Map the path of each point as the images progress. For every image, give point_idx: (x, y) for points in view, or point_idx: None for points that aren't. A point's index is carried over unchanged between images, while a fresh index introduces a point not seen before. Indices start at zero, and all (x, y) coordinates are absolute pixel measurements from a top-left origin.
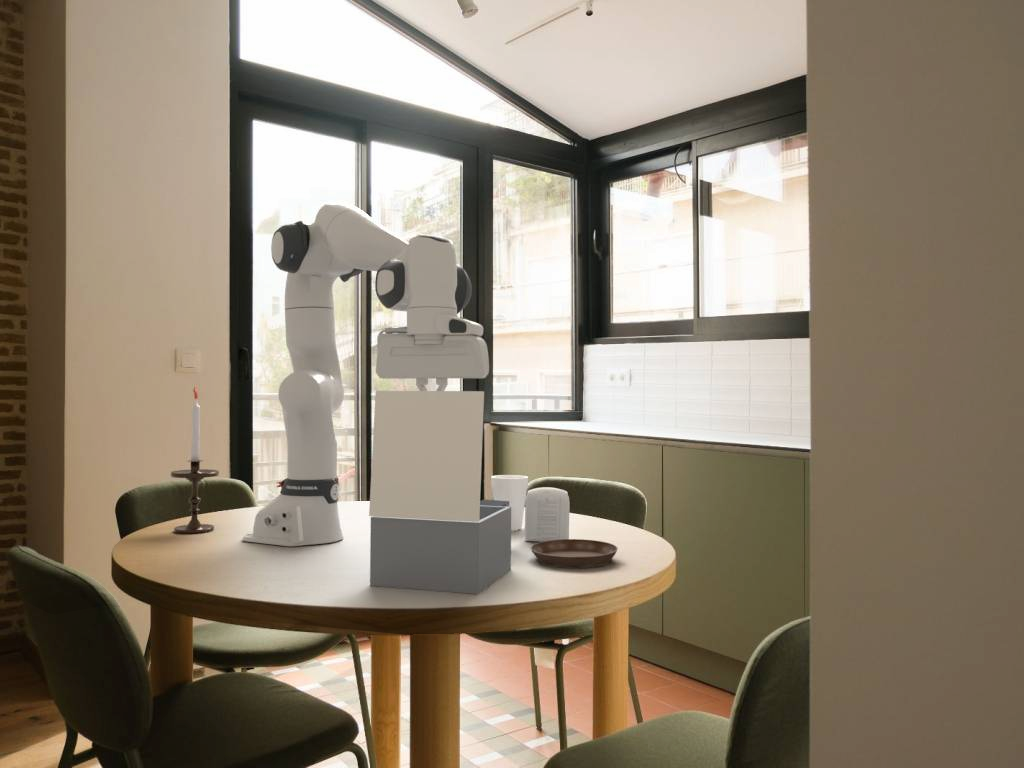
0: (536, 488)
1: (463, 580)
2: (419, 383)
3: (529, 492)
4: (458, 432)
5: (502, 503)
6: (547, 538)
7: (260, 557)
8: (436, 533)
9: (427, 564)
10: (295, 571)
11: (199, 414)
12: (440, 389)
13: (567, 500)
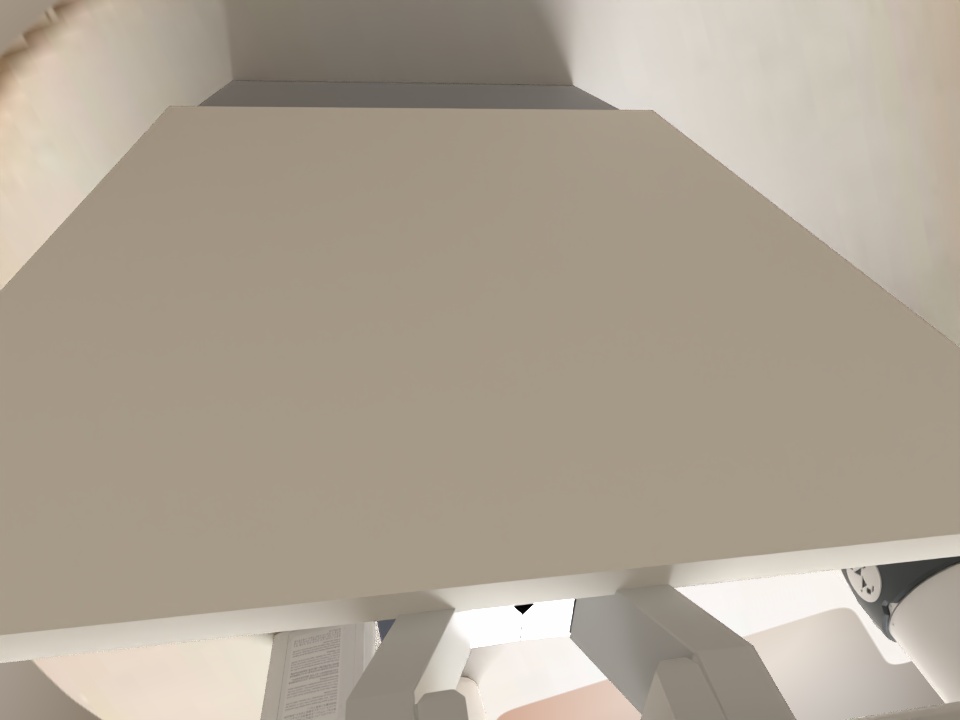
0: None
1: (277, 86)
2: (717, 671)
3: None
4: (197, 303)
5: (385, 626)
6: (315, 628)
7: (925, 294)
8: None
9: (400, 94)
10: (812, 183)
11: None
12: (392, 635)
13: None
